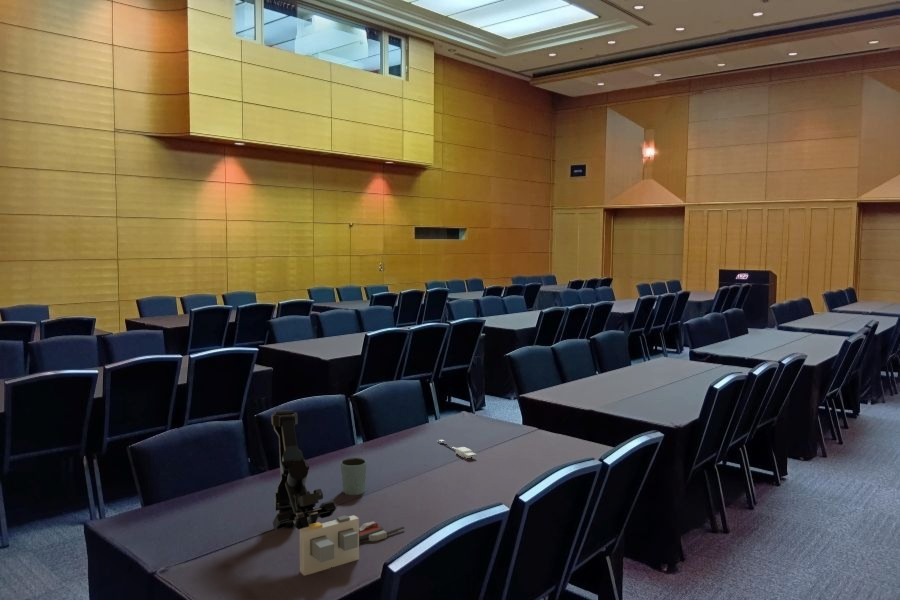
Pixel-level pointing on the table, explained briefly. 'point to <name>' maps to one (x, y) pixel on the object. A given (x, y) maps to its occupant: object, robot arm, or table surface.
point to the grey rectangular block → (322, 548)
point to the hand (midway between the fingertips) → (313, 541)
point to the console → (331, 532)
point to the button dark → (347, 539)
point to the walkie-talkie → (373, 532)
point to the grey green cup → (353, 475)
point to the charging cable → (464, 451)
